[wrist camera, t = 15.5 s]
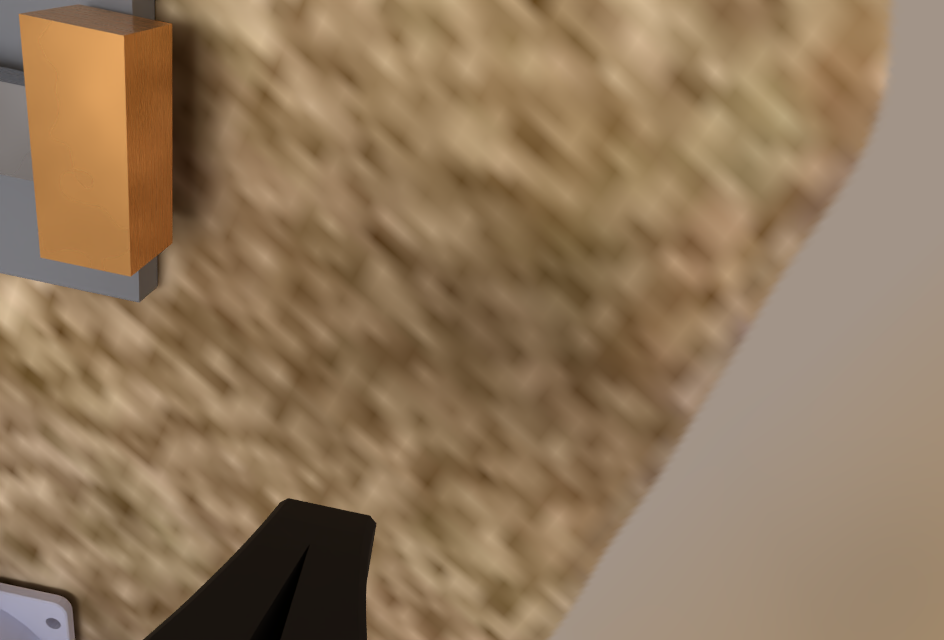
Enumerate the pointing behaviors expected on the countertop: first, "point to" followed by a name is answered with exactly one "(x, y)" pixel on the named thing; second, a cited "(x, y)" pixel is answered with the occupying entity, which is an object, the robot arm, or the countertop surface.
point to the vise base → (13, 200)
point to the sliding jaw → (93, 134)
